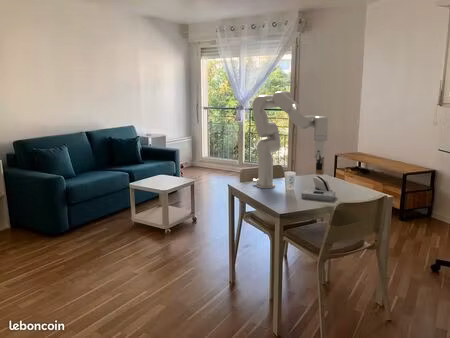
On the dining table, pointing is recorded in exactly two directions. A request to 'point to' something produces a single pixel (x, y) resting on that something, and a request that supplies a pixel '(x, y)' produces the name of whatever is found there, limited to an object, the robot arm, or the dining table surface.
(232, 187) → the dining table surface
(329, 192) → the flat grey box
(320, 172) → the peg
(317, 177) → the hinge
